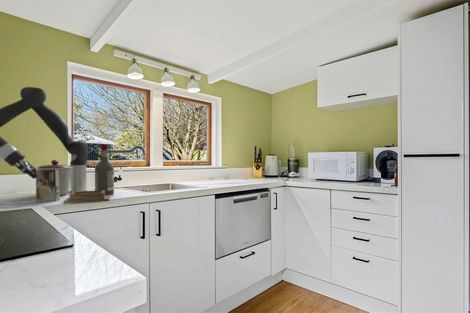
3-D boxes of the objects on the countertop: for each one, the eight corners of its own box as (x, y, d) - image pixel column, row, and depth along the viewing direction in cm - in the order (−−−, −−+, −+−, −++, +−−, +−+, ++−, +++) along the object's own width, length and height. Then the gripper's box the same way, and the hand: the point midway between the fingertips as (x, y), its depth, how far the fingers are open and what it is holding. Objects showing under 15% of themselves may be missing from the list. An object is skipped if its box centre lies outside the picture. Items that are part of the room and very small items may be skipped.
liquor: (94, 196, 160) (93, 144, 160) (98, 194, 169) (98, 144, 169) (111, 195, 162) (110, 144, 162) (114, 193, 170) (114, 144, 171)
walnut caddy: (68, 198, 149) (68, 191, 149) (109, 196, 157) (109, 189, 157) (63, 203, 135) (63, 195, 135) (108, 200, 142) (108, 192, 142)
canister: (78, 194, 166) (78, 159, 166) (44, 198, 151) (44, 160, 151) (64, 192, 176) (63, 159, 177) (30, 196, 162) (30, 160, 162)
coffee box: (60, 199, 148) (60, 169, 148) (56, 201, 142) (55, 169, 142) (40, 200, 146) (40, 169, 146) (35, 202, 140) (35, 170, 140)
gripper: (12, 149, 133) (40, 172, 137) (21, 149, 146) (47, 171, 150) (-2, 160, 131) (27, 183, 135) (9, 160, 144) (36, 181, 148)
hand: (38, 177), depth 142 cm, fingers open, 8 cm apart
